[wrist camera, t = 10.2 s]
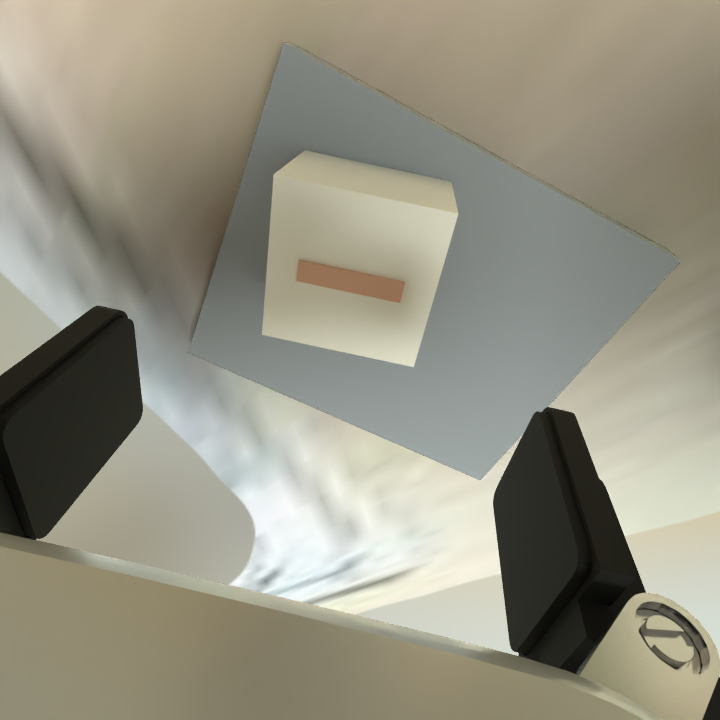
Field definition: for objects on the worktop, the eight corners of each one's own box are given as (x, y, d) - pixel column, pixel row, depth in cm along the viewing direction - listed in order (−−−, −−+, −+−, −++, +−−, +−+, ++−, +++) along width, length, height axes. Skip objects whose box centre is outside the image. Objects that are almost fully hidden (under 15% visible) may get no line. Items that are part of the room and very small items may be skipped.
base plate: (666, 249, 22) (681, 260, 21) (478, 463, 31) (480, 480, 29) (292, 43, 20) (283, 42, 18) (198, 339, 28) (188, 352, 27)
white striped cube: (451, 181, 20) (458, 215, 16) (415, 312, 24) (413, 369, 19) (304, 150, 20) (271, 175, 16) (290, 285, 24) (260, 337, 19)
